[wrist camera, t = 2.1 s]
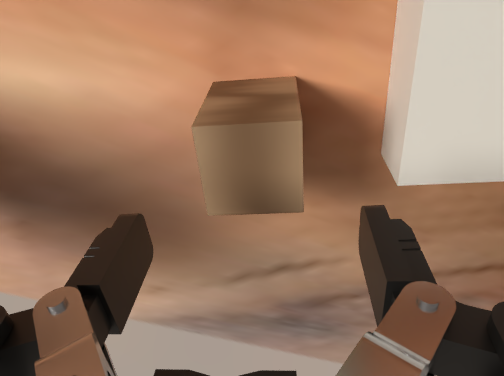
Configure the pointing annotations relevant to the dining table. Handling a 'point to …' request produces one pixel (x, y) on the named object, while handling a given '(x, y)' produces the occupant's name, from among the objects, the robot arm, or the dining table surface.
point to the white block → (446, 93)
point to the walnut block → (251, 147)
